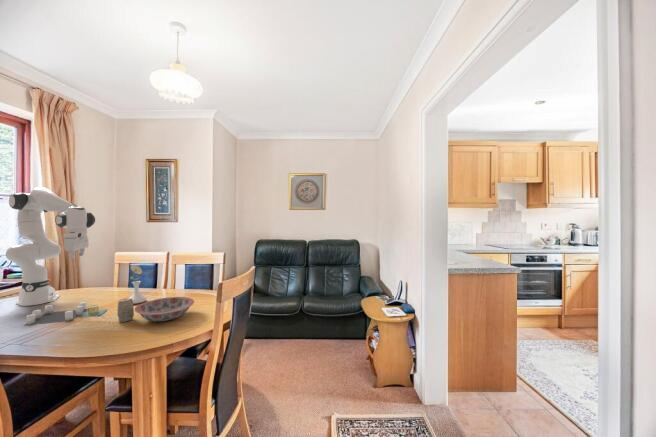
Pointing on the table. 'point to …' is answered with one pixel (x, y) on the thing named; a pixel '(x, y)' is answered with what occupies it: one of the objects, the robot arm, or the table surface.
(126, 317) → the carving
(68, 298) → the table surface
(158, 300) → the ceramic bowl
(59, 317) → the spacer mat
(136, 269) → the flower in vase
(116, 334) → the table surface
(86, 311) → the teal tile
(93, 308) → the brass nut
